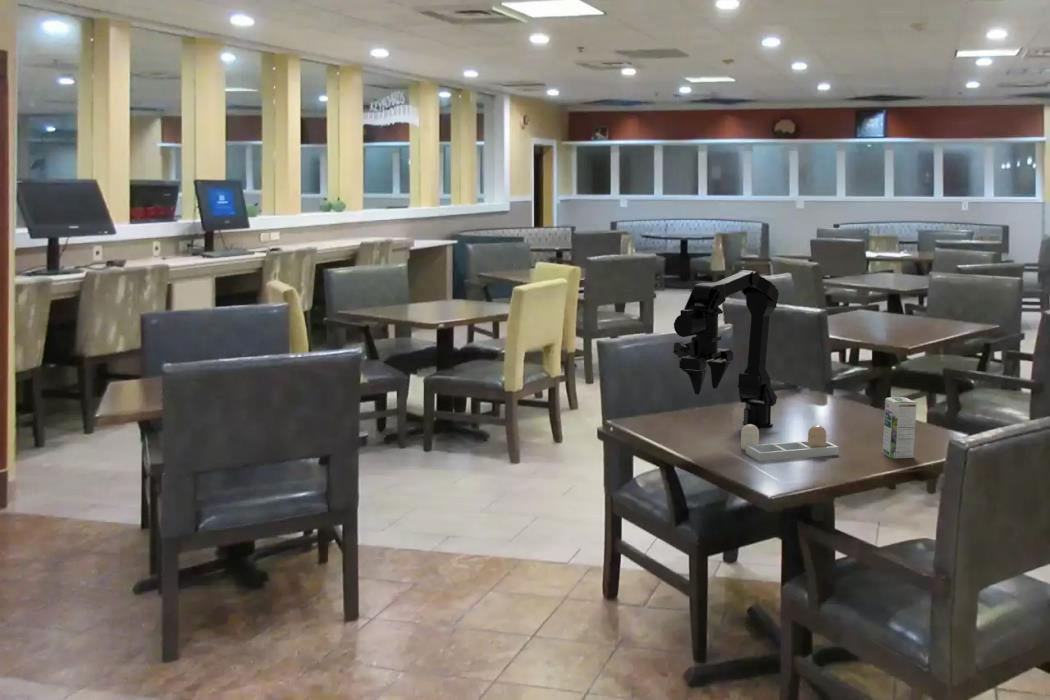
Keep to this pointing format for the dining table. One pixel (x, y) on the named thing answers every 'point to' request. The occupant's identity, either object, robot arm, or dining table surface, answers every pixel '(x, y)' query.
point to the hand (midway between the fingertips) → (706, 391)
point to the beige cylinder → (817, 437)
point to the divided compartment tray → (789, 451)
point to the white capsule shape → (749, 436)
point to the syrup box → (899, 427)
